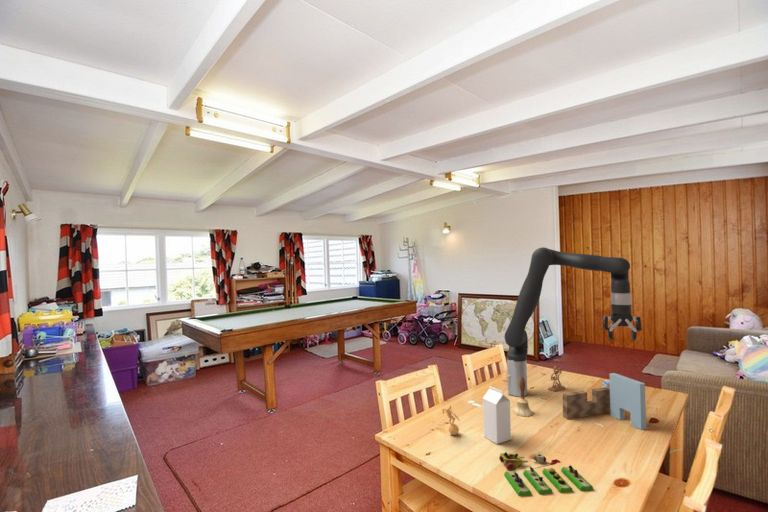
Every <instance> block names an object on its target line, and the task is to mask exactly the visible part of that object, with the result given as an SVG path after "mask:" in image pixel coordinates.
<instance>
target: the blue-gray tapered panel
mask: <svg viewBox="0 0 768 512" xmlns="http://www.w3.org/2000/svg"><path fill="white" fill-rule="evenodd" d="M608 375H609V380H610V411H611V412H610V416H611V417H613V418H615V419H617V420H620V421H621V420H625V411H627V412H629V413H630V426H631V427H633V428H636V429H638V430H639V431H643V430H647V415H646V414H647V412H646V411H647V410H646V383H645V382H641V381H639V380H636V379H633V378H631V377H630V378H629V377H627V376H624V375H622V374H620V373H616V372H612V373H609V374H608Z"/></svg>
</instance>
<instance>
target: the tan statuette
mask: <svg viewBox="0 0 768 512" xmlns="http://www.w3.org/2000/svg"><path fill="white" fill-rule="evenodd" d="M561 374H562V368H561V367H559V366H558V365H554V367H553V373H551V375H550V376H551V377H550V380H551V381H553V383H552V385H551V386H550V387H547V390H548V391H550V392H553V393H556V392H559V391H563V390H565V389H566V386H564V385H562V383H561V382H560V377H559V376H560V375H561Z"/></svg>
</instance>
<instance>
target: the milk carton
mask: <svg viewBox="0 0 768 512" xmlns="http://www.w3.org/2000/svg"><path fill="white" fill-rule="evenodd" d="M482 407H483V408H482V412H483V413H482V414H483V416H482V417H483V418H482V419H483V437H484V438H485V439H488V440H489V441H491V442H493V444H496V445H498V444H502V443H505V442H507V441H510V440H511V439H512V431H511V428H512V427H511V426H512V425H511V399H509V398H508V397H507V396H506V395H505V394H504V391H502V390H501V389H498V388H496V387H493V386H491V385H489V386H488V390H487V391H486V393H485V394H484V396H483V397H482Z"/></svg>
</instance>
